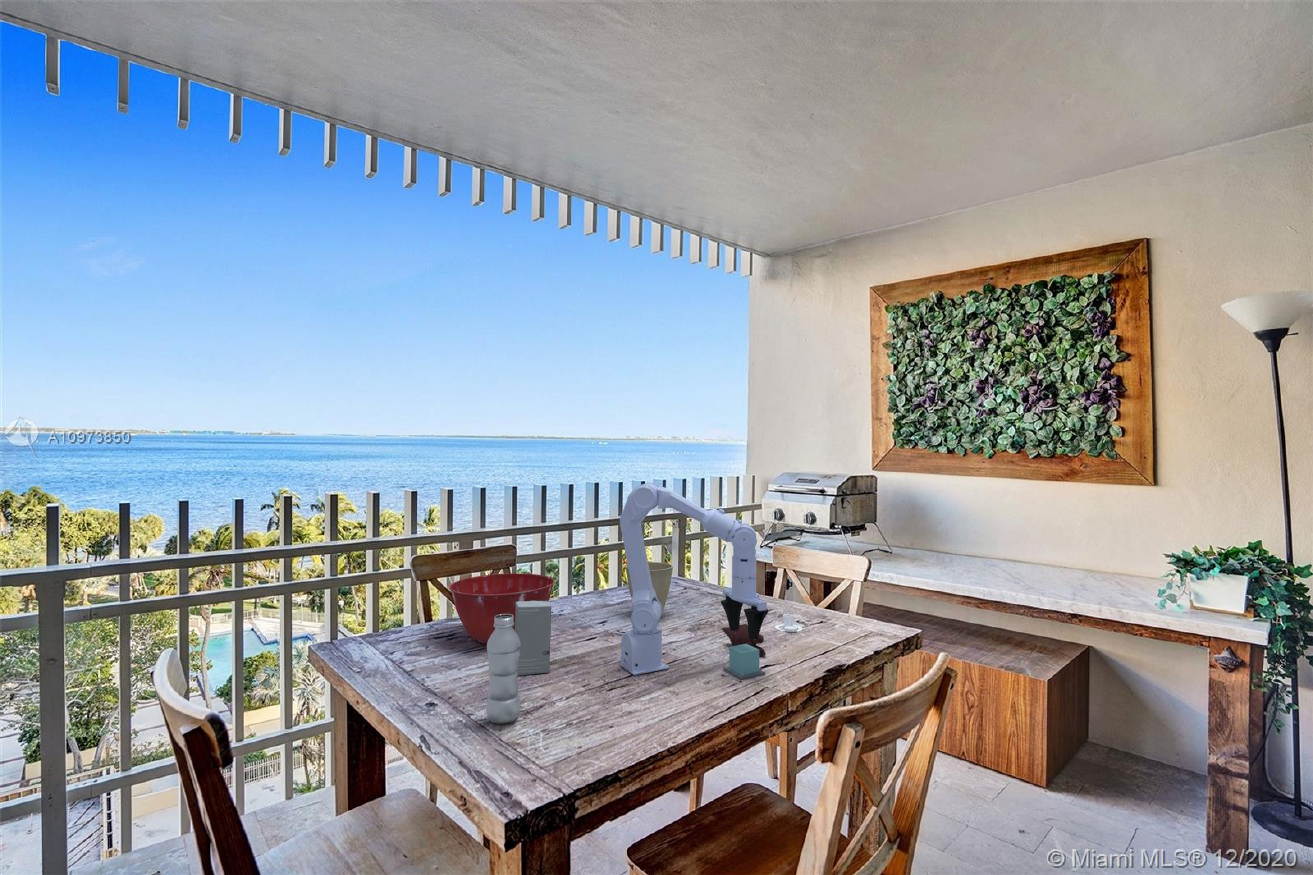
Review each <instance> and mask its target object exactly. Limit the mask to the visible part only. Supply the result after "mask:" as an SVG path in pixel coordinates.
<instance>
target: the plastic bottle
mask: <svg viewBox="0 0 1313 875" xmlns="http://www.w3.org/2000/svg"><path fill="white" fill-rule="evenodd" d="M513 618H514V617H513V615H512V614H500V615H496V616H495V618H494V627H495V630H494V632H493V633H492V635H491V636H490V638H489V640H488V643H487V644H486V651H487V659H488V668H489V669H488V672H489V683H488V694H487V695H488V696H487V698H486V699H487V700H486V704H485V705H486V706H485V711H486V717H487V719H488V720H489V721H490V722H491V723H493V724H496V725H497V724H498V725H499V724H500V725H503V724H508V723H512V722H513V721H515V720H516V719H517V718H518V716H519V715H520V711H521V710H520V709H521V698H520V695H519V686H518V685H519V684H518V676H517V670H518V659H519V652H520V639H519V637H518V635H517V633H516V632H515V631H514V629H513V628H512V627H513V626H514V622H513Z"/></svg>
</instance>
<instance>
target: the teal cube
mask: <svg viewBox="0 0 1313 875" xmlns="http://www.w3.org/2000/svg"><path fill="white" fill-rule="evenodd" d="M728 650H729V651H728V652H729V654H728V656H729V658H728V659H729V661H728V662H729V666H728V667H729V668H730V669H732V670H734V671H736V672H737V673H739V674H741V675H744V674H749V673H754V672H759V669H760V656H759V649H757V648H754V647H752V646H750V645H748V644H743V645H737V646H732V645H731V646H729V649H728Z"/></svg>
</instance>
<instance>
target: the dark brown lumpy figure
mask: <svg viewBox="0 0 1313 875" xmlns="http://www.w3.org/2000/svg"><path fill="white" fill-rule="evenodd" d="M721 631H723V633H724V634H725V635H726V636H727V638H729V641H730V643H731V647H732V646H737V645H743V644H748V645H750V646H752V647H754V648H757V649H759V657H762V658H764V657H765V656H766V654H767V653H766V650H765V649H764V648H763V647H762V646H759V645H757V644H763V643H764V640H765V638H764V636H763V635H762V634H760V633H759V637H758V639H753V640H751V639H749V635H748V623H747V624H744V623H743V624H740V625H739V630H734V631H731V630H730V628H729V626H727V627H726V626H725V627H722V628H721Z"/></svg>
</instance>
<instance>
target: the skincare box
mask: <svg viewBox="0 0 1313 875" xmlns="http://www.w3.org/2000/svg"><path fill="white" fill-rule="evenodd" d="M551 629H552V605H551V602H550V600H549V601H519V602H516V617H515V632H516V633H517V635H518V637H519V639H520V652H519V659H518V670H517V677H519V676H526V675H527V676H529V675H536V674H548V673H550V670H551V668H550V667H551V666H550V664H551V663H550V660H551V637H552V636H551V633H552V632H551V631H552V630H551Z"/></svg>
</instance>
